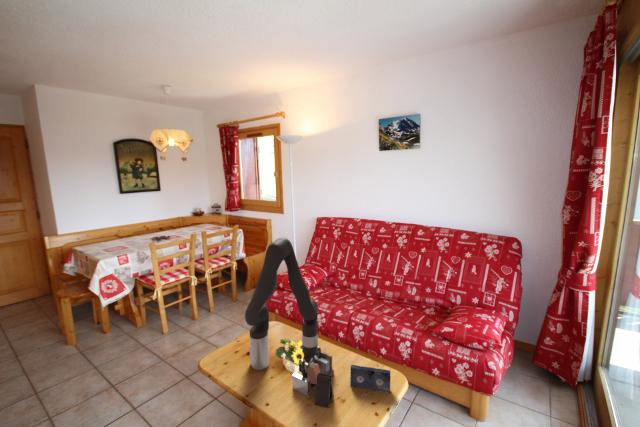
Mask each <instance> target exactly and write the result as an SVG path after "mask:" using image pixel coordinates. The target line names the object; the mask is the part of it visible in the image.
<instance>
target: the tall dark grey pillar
mask: <svg viewBox="0 0 640 427" xmlns="http://www.w3.org/2000/svg"><path fill="white" fill-rule="evenodd" d="M318 355H319V354H318ZM318 365H319V369H320V373H321V374H326V375H331V378H332V377H333V376H334V375H335V370H334V369H333V355H332V354H330V353H327V352H325V351H322V350H321V358H320V359H319V361H318ZM316 386H317V384H314V386H313V387H312V388H310V391H309V392H308V393H307V396H306V397H307V399H308V400H310V399H311V398H312V397H313V396H314V395H316Z"/></svg>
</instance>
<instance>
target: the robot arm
mask: <svg viewBox="0 0 640 427" xmlns="http://www.w3.org/2000/svg"><path fill="white" fill-rule="evenodd" d="M264 256H265V257H264V261H263V264H262V265H263V266H262V268H261V271H260V274H259V277H258V279H257V282H256V285H255V288H254V290H253V295H252V297H251V299H250V302H249V304H248V305H247V308H246V310H245V313H244V319H245V322H246V324H247V325H248V326H251V328H250V329H249V343H250V344H249V345H250V347H249V350H248V351H249V363H250V364H249V365H251V368H252V369H253V370H256V371H262V370H265V369H267V368H268V367H269V365H270V350H269V328H270V311H269V309H268V306H267V305H266V303H267V302H268V301H269V300H270V299H271V298H272V296H273V295H274V293H275V291H276V288H277V286H278V280H279V278H278V270H279V268H280V266H281V264H282V263H283V261H284V263H285V265H286V269H287V276H288V284H289V288H290V290H291V292H292V294H293V296H294V298H295V300H296V304H297V308H298V310H299V314H300V316H301V317H302V319H303V322H302V327H301V328H302V336H301V345H302V346H301V348H302V349H301V350H302V354H303V358H302V359H301V358H299V360H298V365H299V366H298V372H300V373H301V372H302V373H301V376H303V377H305V378H307V370H308V367H310V364H311V363H312V362H313V363H317V364H318V361H319V359H320V358H321V351H322V350H321V349H322V348H321V347H320V346H319V336H318V315H319V314H318V313H319V305H318V303H317V302H316V300H314V299H311V298H310V293H311V292H310V289H309V288H308V286H307V284H306V282H305V278H303V274H302V273H301V270H300V267H299V263H298V259H297V257H296V253H295V250H294V247H293V244H292V242H291V241H290V240H289V239H288V238H286V237H283V236H282V237H279V238H277V239H276V240H274V241H273V242H271V243H270V244H269V245H268V246H267V248H266V252H265V255H264ZM318 354H319V355H318ZM305 362H306V363H308V365H307V364H305ZM305 366H306V369H305ZM301 368H302V369H301Z"/></svg>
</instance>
